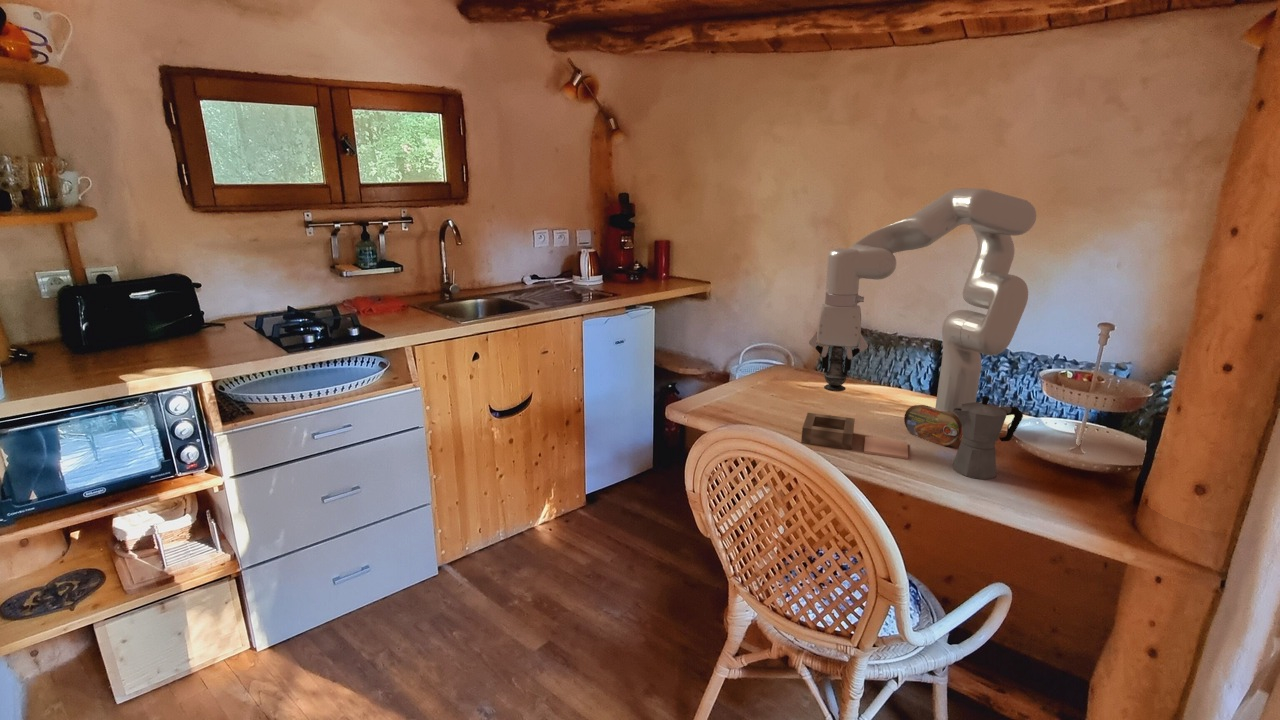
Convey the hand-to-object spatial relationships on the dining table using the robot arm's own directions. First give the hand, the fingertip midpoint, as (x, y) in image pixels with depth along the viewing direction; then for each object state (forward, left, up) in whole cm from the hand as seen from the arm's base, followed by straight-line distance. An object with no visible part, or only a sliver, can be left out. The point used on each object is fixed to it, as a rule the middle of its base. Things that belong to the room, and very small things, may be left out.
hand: (835, 371), depth 161 cm
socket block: (0, 0, -18) cm, 18 cm away
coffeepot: (-34, +8, -18) cm, 39 cm away
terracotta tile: (-14, +2, -18) cm, 22 cm away
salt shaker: (0, 0, -5) cm, 5 cm away
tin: (-25, -9, -18) cm, 32 cm away
